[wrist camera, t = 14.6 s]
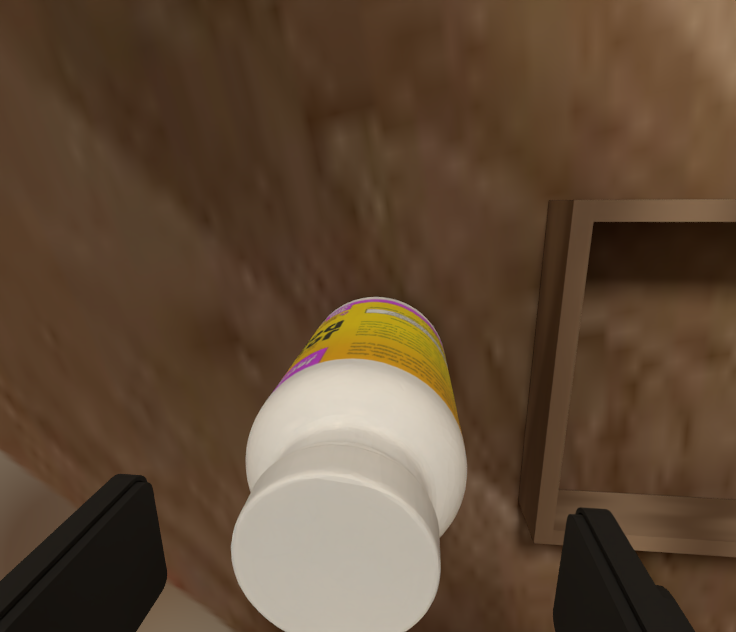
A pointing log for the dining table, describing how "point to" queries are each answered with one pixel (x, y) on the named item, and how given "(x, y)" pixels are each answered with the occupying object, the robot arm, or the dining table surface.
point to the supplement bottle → (353, 477)
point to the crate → (554, 385)
